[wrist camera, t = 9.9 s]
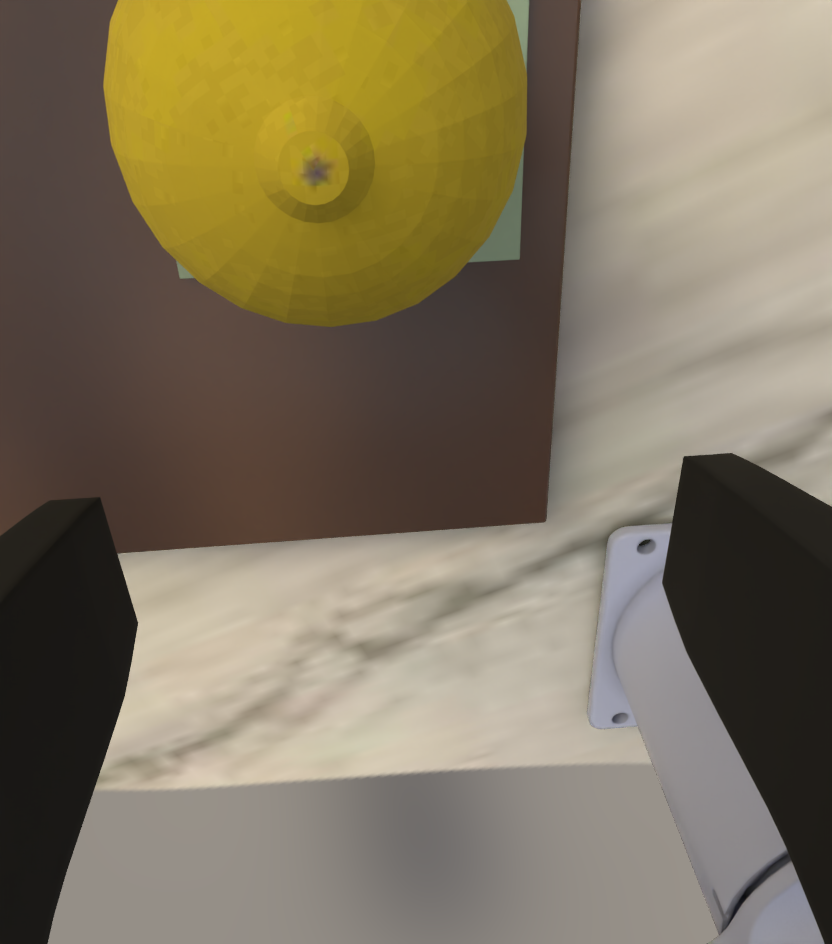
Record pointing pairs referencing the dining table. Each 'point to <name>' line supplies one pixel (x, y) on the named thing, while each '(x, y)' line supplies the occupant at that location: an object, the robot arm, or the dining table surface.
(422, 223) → the lemon
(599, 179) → the dining table surface
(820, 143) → the dining table surface
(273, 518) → the board
